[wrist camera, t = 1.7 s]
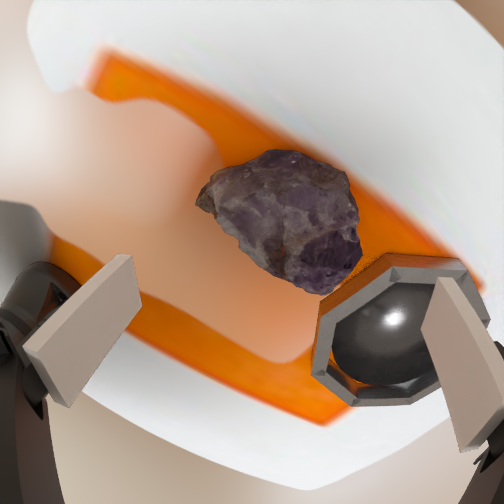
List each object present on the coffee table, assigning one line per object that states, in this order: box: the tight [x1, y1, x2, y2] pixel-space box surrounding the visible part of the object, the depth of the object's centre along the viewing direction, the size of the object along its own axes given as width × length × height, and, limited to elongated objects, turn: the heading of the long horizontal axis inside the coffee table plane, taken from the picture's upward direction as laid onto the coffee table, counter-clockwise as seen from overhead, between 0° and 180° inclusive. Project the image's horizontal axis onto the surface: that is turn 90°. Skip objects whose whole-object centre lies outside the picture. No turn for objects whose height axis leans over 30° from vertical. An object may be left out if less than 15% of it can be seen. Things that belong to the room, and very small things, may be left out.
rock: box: [195, 149, 363, 295], centre depth 22 cm, size 12×9×10 cm
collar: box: [311, 253, 491, 407], centre depth 29 cm, size 19×19×2 cm
